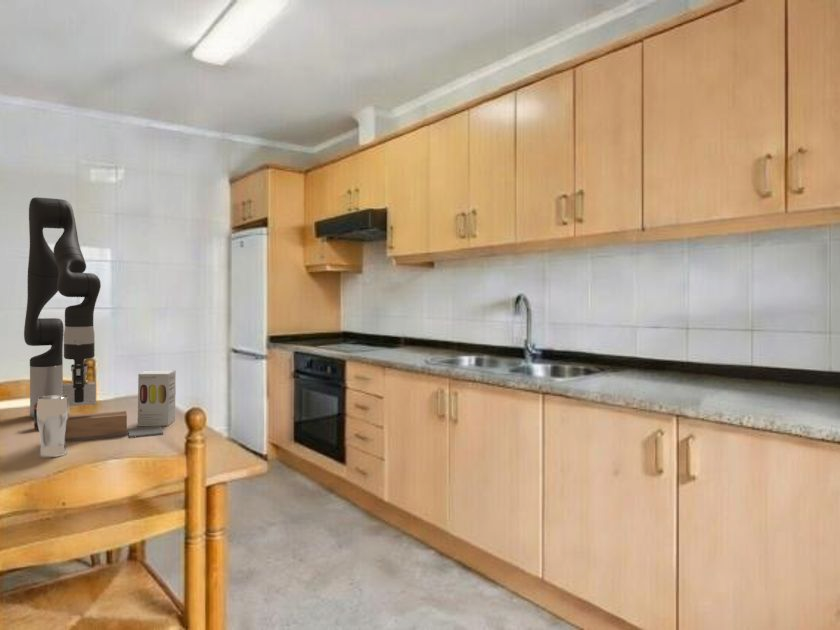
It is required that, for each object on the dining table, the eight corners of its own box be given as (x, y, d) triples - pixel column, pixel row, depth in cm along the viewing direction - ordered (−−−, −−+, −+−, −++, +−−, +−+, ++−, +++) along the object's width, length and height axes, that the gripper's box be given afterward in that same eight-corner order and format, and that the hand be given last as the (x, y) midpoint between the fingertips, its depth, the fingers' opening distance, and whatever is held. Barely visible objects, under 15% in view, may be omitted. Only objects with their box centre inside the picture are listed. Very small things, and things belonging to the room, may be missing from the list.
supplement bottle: (57, 427, 169) (57, 396, 168) (40, 430, 164) (40, 399, 164) (47, 425, 171) (47, 395, 170) (30, 428, 166) (30, 397, 166)
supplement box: (136, 426, 170) (136, 373, 170) (145, 420, 179) (145, 369, 179) (169, 425, 172) (169, 373, 172) (176, 419, 181) (176, 369, 181)
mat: (128, 430, 166) (128, 428, 166) (160, 427, 170) (160, 425, 170) (129, 437, 157) (129, 435, 157) (163, 434, 161) (163, 432, 161)
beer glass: (44, 460, 135) (44, 400, 134) (31, 455, 138) (31, 397, 138) (74, 453, 141) (74, 396, 140) (61, 449, 144) (61, 393, 144)
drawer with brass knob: (63, 404, 157) (63, 380, 156) (95, 401, 161) (95, 379, 160) (62, 406, 153) (62, 383, 152) (95, 404, 157) (95, 381, 156)
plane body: (54, 437, 157) (54, 416, 157) (126, 430, 166) (126, 410, 166) (52, 442, 150) (52, 421, 150) (127, 435, 160) (127, 415, 159)
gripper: (65, 340, 160) (65, 397, 161) (61, 344, 148) (62, 406, 149) (95, 339, 164) (95, 395, 165) (93, 343, 152) (94, 404, 152)
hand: (79, 400), depth 157 cm, fingers closed on drawer with brass knob, 4 cm apart
